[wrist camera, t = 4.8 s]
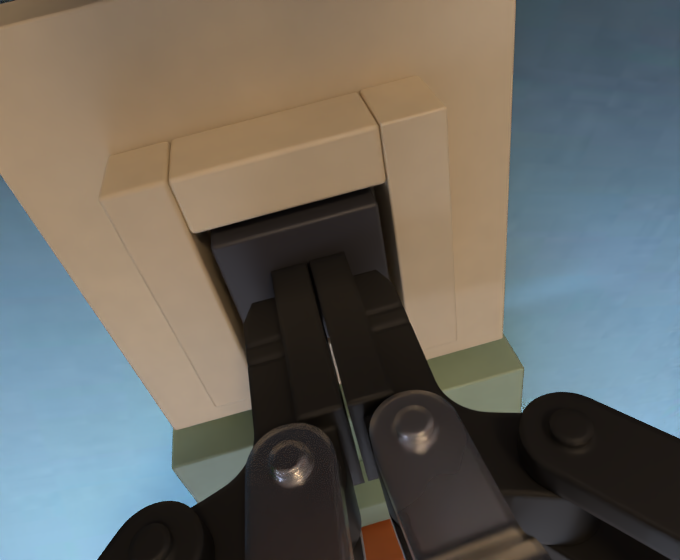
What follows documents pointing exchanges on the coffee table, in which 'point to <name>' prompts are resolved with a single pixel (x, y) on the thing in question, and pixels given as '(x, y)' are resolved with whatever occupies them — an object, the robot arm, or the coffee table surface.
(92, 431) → the coffee table surface
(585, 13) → the coffee table surface
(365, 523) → the green stepped square block
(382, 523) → the key
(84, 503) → the coffee table surface
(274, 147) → the beige push button
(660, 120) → the coffee table surface
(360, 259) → the key
